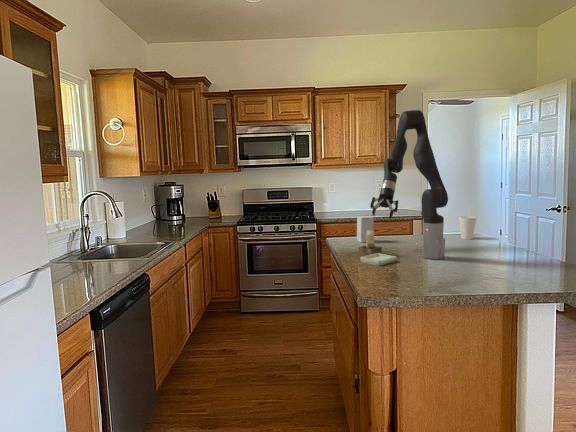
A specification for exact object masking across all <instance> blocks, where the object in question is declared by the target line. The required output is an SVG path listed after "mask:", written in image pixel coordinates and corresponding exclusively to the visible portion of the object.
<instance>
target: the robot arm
mask: <svg viewBox="0 0 576 432" xmlns="http://www.w3.org/2000/svg"><path fill="white" fill-rule="evenodd" d="M425 119H426V118H425V115H424V113H423V111H422V110H419V109H417V110H416V109H413V110H405V111H403V112H402V113H401V114H400V116H399V120H398V125H397V129H396V130H397V131H396V135H395V141H394V145H393V148H392V149H391V153H390V157H391V158H390V157H388V158H386V159H385V160H384V161H383V175H384V176H383V180H382V184H381V187H380V192H379V194H378V198H377V197H375V196H373V197H372V198H371V202H370V205H369V206H370V209H372V213H371V214H372V217H373V216H374V217H375V216H376V211H377V209H379V208H380V207H381V208H385V209H386V208H387V209H388V210H390V212H389V216H388V217H389V219H391V218H393V215H394V213H397V212H398V208H399V200H394V196H395V192H396V184H397V179H398V176H397V174H398V173H401V172H402V171H403V167H404V165H403V164H404V157H405V155H406V152H407V149H408V142H407V140H406V139H407V138H406V135H405V134H406V132H407V131H409V130H415V132H416V136H417V139H416V142H415V144H414V149H413V152H412V153H413V154H412V155H413V160H414V162H415V163H414V164H415V166H416V168H417V170H418V171H419V173H421V175H422V176H423V177H424V178H425V179H426V181H427V182H428V184H429V187H430V188H428V189H425V190H424V191H423V193H422V195H421V201H420V202H421V217H422V220H423V221H422V222H423V223H422V258H423V259H428V260H441V259H445V256H446V255H445V254H446V252H445V251H446V249H445V248H446V238H444V223H445V222H444V219H445V218H444V216H442V215H440V214H439V213H438V210H437V209H439V208H445V207H446V206H447V205H448V202H449V196H448V192H447V189H446V187H445V184H444V183H443V179H442V178H441V175H440V171H439V168H438V166H437V165H438V164H437V162H436V158H435V155H434V151H433V148H432V145H431V141H430V137H429V135H428V134H429V133H428V129H427V124H426V120H425ZM375 203H376V204H375ZM392 205H394V208H393V206H392Z"/></svg>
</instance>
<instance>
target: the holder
mask: <svg viewBox="0 0 576 432" xmlns="http://www.w3.org/2000/svg"><path fill="white" fill-rule="evenodd" d="M382 251H383V248H382V246H376V245H374V249H367V248H366V245H363V246H359V247H358V255H361V254H362V255H363V256H367V255H371V254H376V253H380V254H383V253H382ZM362 255H361V256H362Z"/></svg>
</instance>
